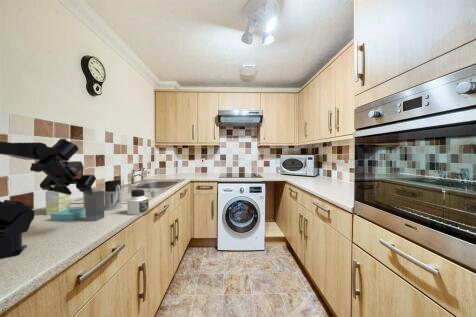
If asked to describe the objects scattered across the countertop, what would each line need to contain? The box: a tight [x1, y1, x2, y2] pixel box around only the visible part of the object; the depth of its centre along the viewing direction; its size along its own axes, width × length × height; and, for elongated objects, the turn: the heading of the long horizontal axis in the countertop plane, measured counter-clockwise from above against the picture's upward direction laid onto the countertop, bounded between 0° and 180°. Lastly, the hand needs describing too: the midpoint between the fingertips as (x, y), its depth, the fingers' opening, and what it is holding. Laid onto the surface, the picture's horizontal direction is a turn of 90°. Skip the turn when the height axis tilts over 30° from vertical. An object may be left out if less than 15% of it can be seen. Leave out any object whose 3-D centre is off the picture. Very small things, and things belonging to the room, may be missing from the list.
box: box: [44, 187, 71, 216], centre depth 104 cm, size 10×6×12 cm, turn 17°
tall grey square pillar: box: [85, 189, 105, 222], centre depth 92 cm, size 5×5×13 cm
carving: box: [82, 186, 98, 209], centre depth 108 cm, size 6×8×12 cm
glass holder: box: [104, 179, 123, 211], centre depth 109 cm, size 9×14×15 cm, turn 49°
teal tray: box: [50, 207, 86, 222], centre depth 94 cm, size 10×10×3 cm
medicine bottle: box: [126, 188, 150, 216], centre depth 102 cm, size 7×7×12 cm
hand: (81, 194), depth 84 cm, fingers open, 9 cm apart
